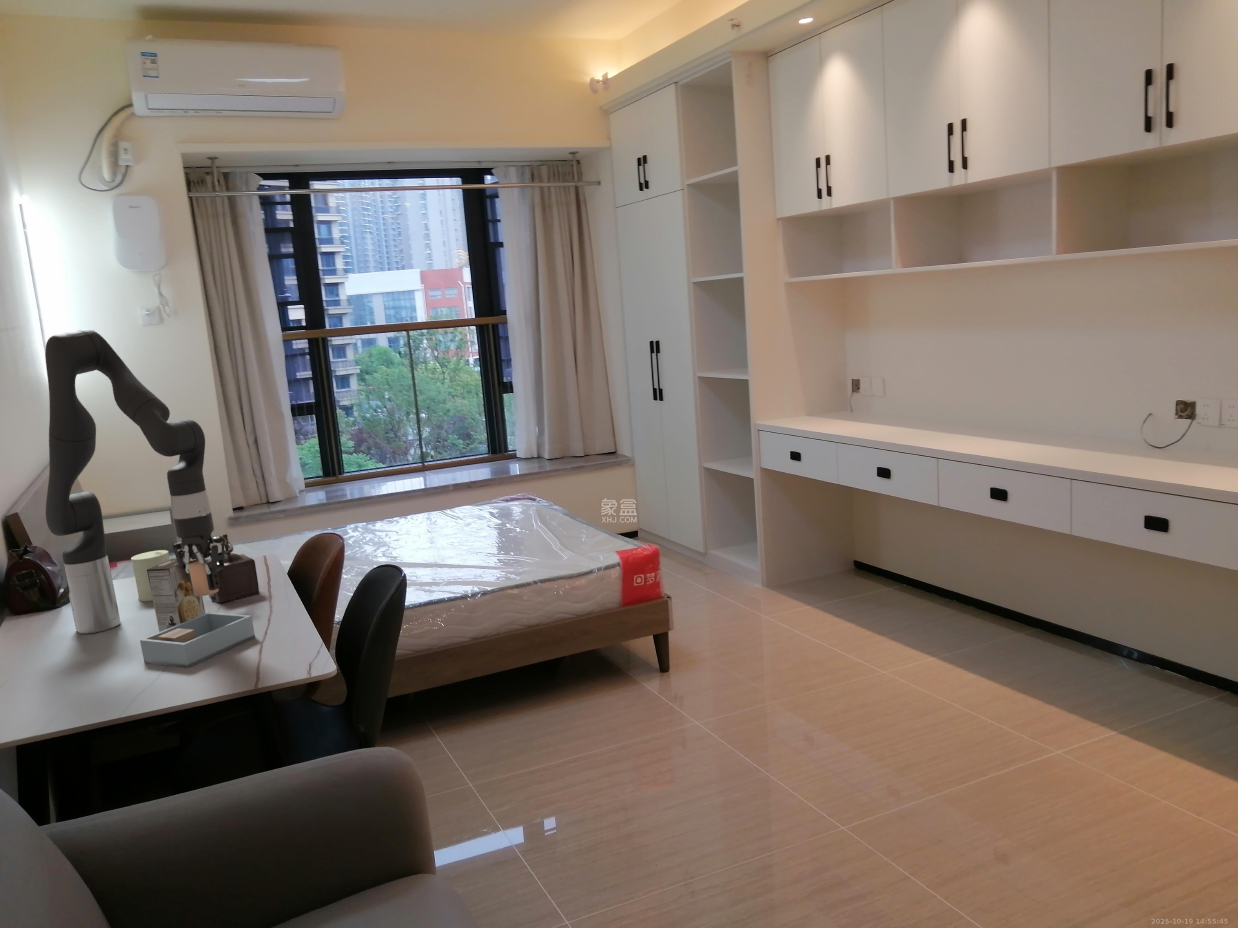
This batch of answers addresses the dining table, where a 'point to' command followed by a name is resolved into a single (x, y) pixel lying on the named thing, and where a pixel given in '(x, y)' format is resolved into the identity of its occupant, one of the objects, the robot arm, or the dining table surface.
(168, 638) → the walnut cube
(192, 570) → the peach rounded cylinder
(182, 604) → the coffee box
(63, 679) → the dining table surface
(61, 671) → the dining table surface
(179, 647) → the tote
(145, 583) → the can
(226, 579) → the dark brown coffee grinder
